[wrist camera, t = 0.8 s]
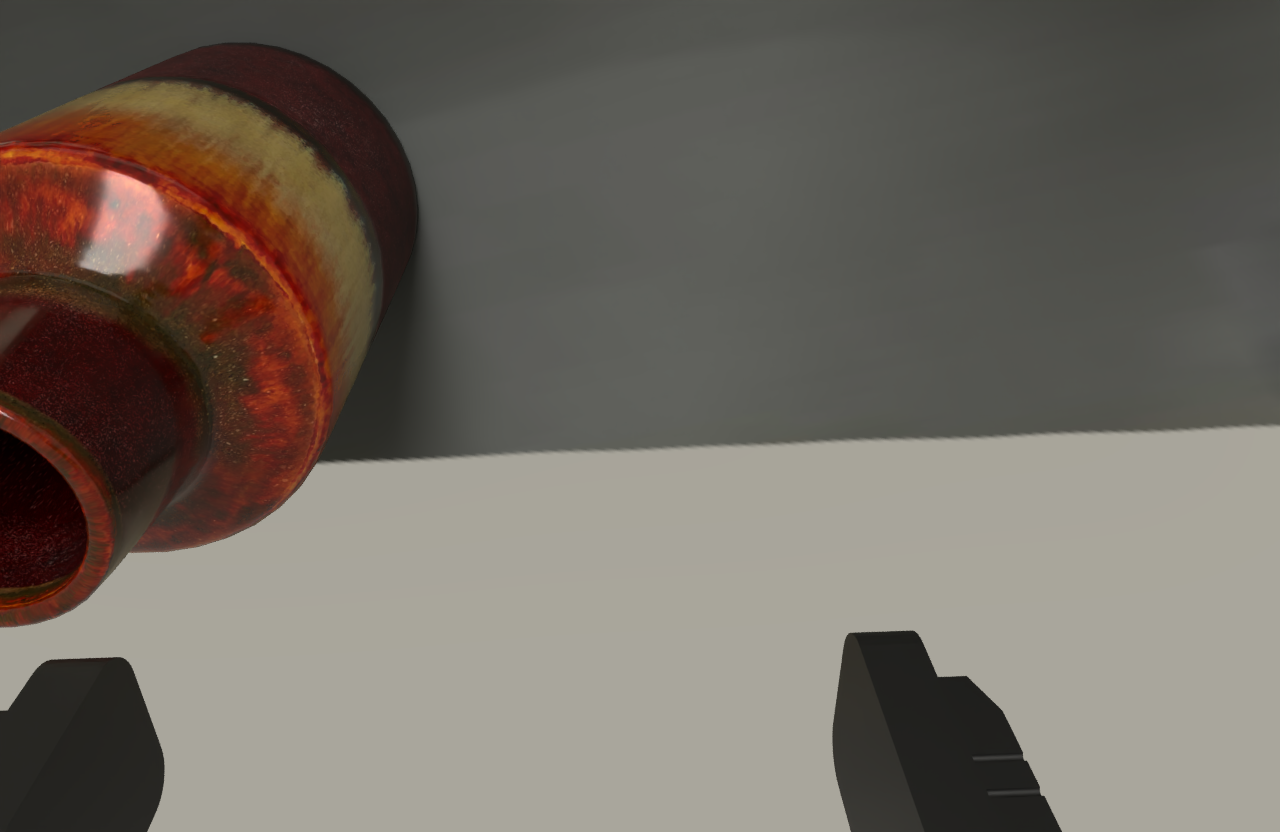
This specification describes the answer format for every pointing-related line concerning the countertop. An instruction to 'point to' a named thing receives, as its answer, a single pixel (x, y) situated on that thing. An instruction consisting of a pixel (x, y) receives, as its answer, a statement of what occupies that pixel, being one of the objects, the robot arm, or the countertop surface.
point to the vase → (183, 306)
